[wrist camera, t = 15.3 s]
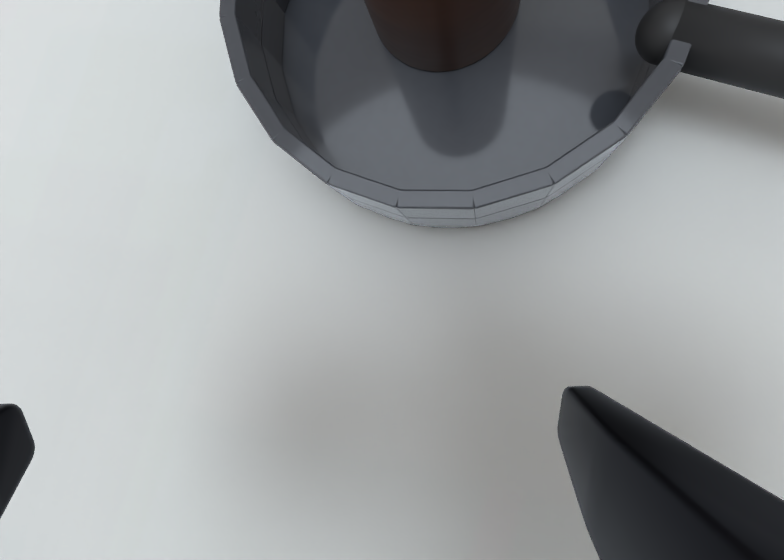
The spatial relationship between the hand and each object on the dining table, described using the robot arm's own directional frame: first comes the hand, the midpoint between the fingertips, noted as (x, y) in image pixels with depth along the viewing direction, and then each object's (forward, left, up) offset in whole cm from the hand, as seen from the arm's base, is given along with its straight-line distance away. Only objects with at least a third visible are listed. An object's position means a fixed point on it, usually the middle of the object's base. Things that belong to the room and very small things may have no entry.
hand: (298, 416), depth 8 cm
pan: (+3, -12, -11) cm, 17 cm away
